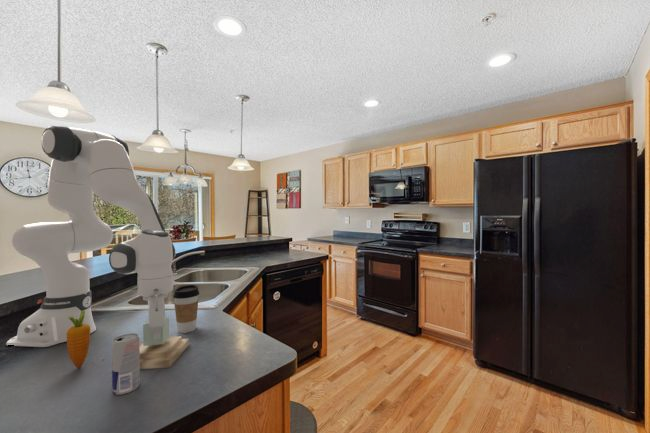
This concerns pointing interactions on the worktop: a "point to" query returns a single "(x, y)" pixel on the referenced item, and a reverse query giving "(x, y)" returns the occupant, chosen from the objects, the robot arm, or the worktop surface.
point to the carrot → (78, 340)
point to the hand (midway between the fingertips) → (156, 333)
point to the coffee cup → (186, 307)
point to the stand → (162, 353)
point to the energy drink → (125, 364)
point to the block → (149, 334)
